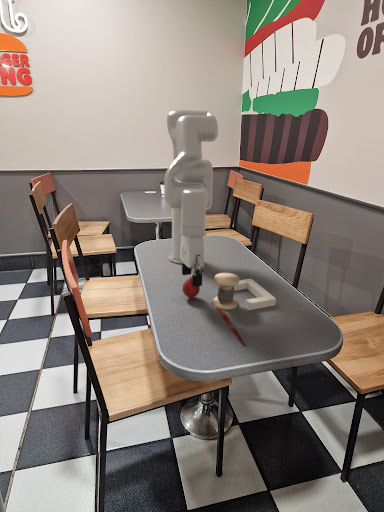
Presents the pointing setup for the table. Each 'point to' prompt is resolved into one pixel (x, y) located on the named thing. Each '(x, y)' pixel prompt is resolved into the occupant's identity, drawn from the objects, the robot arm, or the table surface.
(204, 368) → the table surface
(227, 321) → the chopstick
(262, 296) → the notch board
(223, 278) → the spool
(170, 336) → the table surface
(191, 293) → the onion
